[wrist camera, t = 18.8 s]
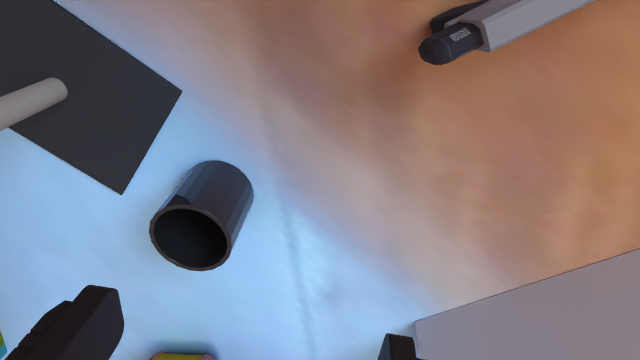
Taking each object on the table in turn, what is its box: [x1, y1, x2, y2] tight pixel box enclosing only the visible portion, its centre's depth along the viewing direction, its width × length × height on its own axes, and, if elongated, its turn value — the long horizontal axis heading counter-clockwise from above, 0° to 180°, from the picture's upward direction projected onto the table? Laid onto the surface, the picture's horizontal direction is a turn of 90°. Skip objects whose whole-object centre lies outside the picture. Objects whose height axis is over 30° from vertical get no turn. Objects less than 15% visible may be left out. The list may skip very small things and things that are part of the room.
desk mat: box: [0, 0, 182, 195], centre depth 46 cm, size 20×18×1 cm
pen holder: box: [149, 161, 253, 271], centre depth 46 cm, size 9×9×10 cm
